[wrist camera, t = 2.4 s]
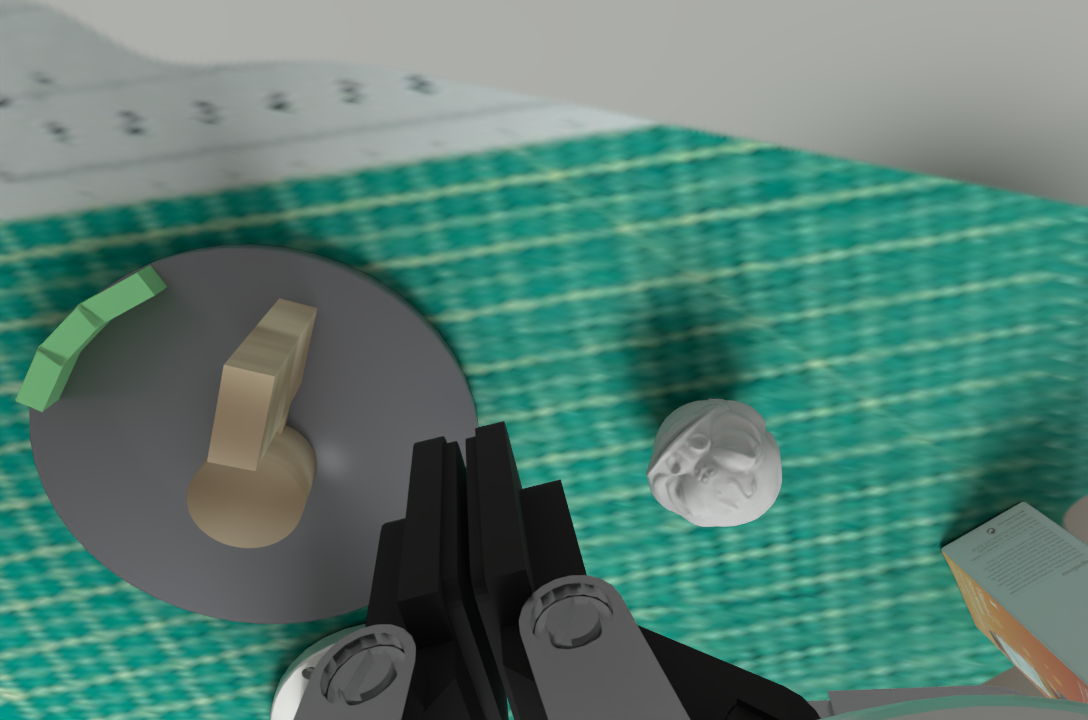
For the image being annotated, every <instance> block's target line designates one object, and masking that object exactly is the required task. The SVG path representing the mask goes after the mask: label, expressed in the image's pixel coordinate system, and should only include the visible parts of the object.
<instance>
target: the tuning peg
mask: <svg viewBox="0 0 1088 720" xmlns="http://www.w3.org/2000/svg"><path fill="white" fill-rule="evenodd" d="M316 313H317V308H316V307H312V306H308V305H304V304H300V303H296V302H292V301H289V300H285V299H281V298H279V299H278V301H277V302H276V303H275V304H274V305H273V307H272V308H271V309H270V310H269V311H268V313H267V314H266V315H265V316H264V317H263V318H262V320H261V321H260V322H259V323H258V324H257V326H256V327H255V328H254V329H253V330H252V332H251V333H250V334H249V335H248V336H247V338H246V339H245V340H244V341H243V342H242V344H241V345H240V346H239V347H238V348H237V350H236V351H235V352H234V353H233V354H232V356H231V357H230V358H229V359H228V360H227V361H226V363H225V364H224V366H223V372H222V378H221V384H220V390H219V395H218V401H217V407H216V413H215V419H214V424H213V430H212V436H211V442H210V448H209V453H208V456H207V458H206V459H205V461H204V462H203V464H202V465H201V467H200V468H199V470H198V471H197V473H196V474H195V476H194V477H193V479H192V480H191V482H190V485H189V487H188V491H187V506H188V510H189V513H190V515H191V517H192V519H193V520H194V522H195V523H196V524H197V526H198V527H199V528H200V529H201V530H202V531H203V532H204V533H206V534H207V535H208V536H210V537H211V538H213V539H215V540H217V541H219V542H221V543H223V544H226V545H229V546H234V547H240V548H259V547H264V546H268V545H271V544H274V543H276V542H279V541H280V540H282V539H284V538H285V537H286V536H288V535H289V534H290V533H291V532H292V531H293V530H294V529H295V527H296V526H297V525H298V523H299V521H300V519H301V516H302V513H303V510H304V507H305V504H306V502H307V499H308V496H309V493H310V490H311V488H312V485H313V482H314V479H315V476H316V471H317V461H316V456H315V453H314V451H313V449H312V447H311V445H310V444H309V442H308V441H307V440H306V439H305V438H304V437H303V436H302V435H301V434H300V433H299V432H297V431H296V430H294V429H293V428H291V427H289V426H287V425H286V422H287V418H288V413H289V408H290V404H291V402H292V400H293V398H294V396H295V395H296V393H297V391H298V389H299V387H300V385H301V382H302V377H303V373H304V368H305V364H306V359H307V354H308V350H309V345H310V341H311V336H312V331H313V327H314V322H315V318H316Z"/></svg>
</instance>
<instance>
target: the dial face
mask: <svg viewBox="0 0 1088 720" xmlns="http://www.w3.org/2000/svg"><path fill="white" fill-rule="evenodd" d="M279 298H281V299H285V300H289V301H292V302H296V303H300V304H304V305H308V306H312V307H316V308H317V313H316V318H315V322H314V327H313V331H312V336H311V341H310V345H309V350H308V354H307V359H306V364H305V368H304V373H303V377H302V382H301V385H300V387H299V389H298V391H297V393H296V395H295V396H294V398H293V400H292V402H291V404H290V408H289V413H288V418H287V422H286V425H287V426H289V427H291V428H293V429H294V430H296V431H297V432H299V433H300V434H301V435H302V436H303V437H304V438H305V439H306V440H307V441H308V442H309V444H310V445H311V447H312V449H313V451H314V453H315V456H316V461H317V471H316V476H315V479H314V482H313V485H312V488H311V490H310V493H309V496H308V499H307V502H306V504H305V507H304V510H303V513H302V516H301V519H300V521H299V523H298V525H297V526H296V527H295V529H294V530H293V531H292V532H291V533H290V534H289V535H288V536H286V537H285V538H284V539H282V540H280V541H279V542H276V543H274V544H271V545H268V546H264V547H259V548H240V547H234V546H229V545H226V544H223V543H221V542H219V541H217V540H215V539H213V538H211V537H210V536H208V535H207V534H206V533H204V532H203V531H202V530H201V529H200V528H199V527H198V526H197V524H196V523H195V522H194V520H193V519H192V517H191V515H190V513H189V510H188V506H187V491H188V487H189V485H190V482H191V480H192V479H193V477H194V476H195V474H196V473H197V471H198V470H199V468H200V467H201V465H202V464H203V462H204V461H205V459H206V458H207V456H208V453H209V448H210V442H211V436H212V430H213V424H214V419H215V413H216V407H217V401H218V395H219V390H220V384H221V378H222V372H223V366H224V364H225V363H226V361H227V360H228V359H229V358H230V357H231V356H232V354H233V353H234V352H235V351H236V350H237V348H238V347H239V346H240V345H241V344H242V342H243V341H244V340H245V339H246V338H247V336H248V335H249V334H250V333H251V332H252V330H253V329H254V328H255V327H256V326H257V324H258V323H259V322H260V321H261V320H262V318H263V317H264V316H265V315H266V314H267V313H268V311H269V310H270V309H271V308H272V307H273V305H274V304H275V303H276V302H277V301H278V299H279ZM15 401H16V402H19V403H21V404H24V405H26V406H29V407H30V440H31V446H32V451H33V456H34V462H35V465H36V468H37V471H38V474H39V477H40V480H41V482H42V485H43V488H44V490H45V492H46V494H47V496H48V498H49V499H50V501H51V503H52V505H53V507H54V509H55V511H56V512H57V514H58V515H59V517H60V518H61V519H62V521H63V522H64V524H65V525H66V526H67V528H68V529H69V531H70V532H71V533H72V534H73V535H74V537H75V538H76V539H77V540H78V541H79V542H80V543H81V544H82V545H83V546H84V547H85V548H86V550H87V551H88V552H89V553H90V554H92V555H93V556H94V557H95V558H96V559H97V560H99V561H100V562H101V563H102V564H103V565H104V566H106V567H107V568H108V569H109V570H110V571H112V572H113V573H115V574H116V575H118V576H119V577H121V578H122V579H124V580H125V581H127V582H128V583H130V584H131V585H133V586H134V587H136V588H138V589H140V590H142V591H144V592H146V593H148V594H150V595H151V596H153V597H155V598H157V599H160V600H162V601H165V602H167V603H170V604H172V605H174V606H177V607H179V608H182V609H185V610H189V611H192V612H195V613H199V614H202V615H206V616H210V617H215V618H220V619H225V620H230V621H237V622H248V623H258V624H288V623H298V622H308V621H315V620H320V619H325V618H330V617H335V616H339V615H342V614H345V613H348V612H351V611H355V610H358V609H361V608H363V607H365V606H368V605H369V600H370V594H371V588H372V581H373V575H374V569H375V563H376V557H377V550H378V544H379V538H380V532H381V528H382V525H383V524H384V523H387V522H391V521H395V520H399V519H403V518H405V517H406V508H407V499H408V490H409V480H410V471H411V462H412V453H413V445H414V443H417V442H421V441H425V440H429V439H433V438H437V437H441V436H444V437H445V438H446V441H447V443H450V442H454V441H457V442H458V444H459V447H460V450H461V453H462V457H463V460H464V463H465V467H466V443H465V439H466V438H470V437H474V436H475V428H478V419H477V414H476V410H475V405H474V400H473V396H472V393H471V390H470V388H469V385H468V382H467V379H466V376H465V374H464V372H463V370H462V368H461V366H460V365H459V363H458V361H457V359H456V357H455V355H454V353H453V352H452V350H451V349H450V347H449V346H448V345H447V343H446V342H445V340H444V339H443V338H442V336H441V335H440V333H439V332H438V331H437V330H436V329H435V327H434V326H433V325H432V324H431V323H430V322H429V321H428V320H427V319H426V318H425V317H424V316H423V315H422V314H421V313H420V311H419V310H417V309H416V308H415V307H414V306H412V305H411V304H410V303H409V302H408V301H406V300H405V299H404V298H403V297H402V296H400V295H399V294H398V293H397V292H395V291H394V290H392V289H390V288H389V287H387V286H386V285H384V284H383V283H381V282H380V281H378V280H376V279H375V278H373V277H372V276H370V275H367V274H365V273H363V272H361V271H359V270H357V269H355V268H353V267H351V266H349V265H347V264H345V263H342V262H339V261H336V260H333V259H330V258H327V257H324V256H321V255H318V254H315V253H311V252H306V251H302V250H297V249H292V248H287V247H281V246H270V245H259V244H234V245H217V246H211V247H205V248H199V249H192V250H188V251H184V252H181V253H178V254H175V255H171V256H168V257H165V258H161V259H159V260H157V261H154V262H152V263H150V264H148V265H146V266H144V267H141V268H139V269H137V270H135V271H133V272H131V273H129V274H127V275H126V276H124V277H122V278H120V279H119V280H117V281H116V282H114V283H113V284H111V285H109V286H108V287H106V288H105V289H103V290H102V291H100V292H99V293H97V294H95V295H94V296H92V297H90V298H88V299H87V300H85V301H83V302H81V303H80V304H79V305H78V306H76V308H75V309H74V310H73V311H72V313H71V314H70V315H69V316H68V317H67V318H66V319H65V320H64V321H63V322H62V323H61V324H60V325H59V326H58V327H57V328H56V330H55V331H54V332H53V333H52V334H51V335H50V336H49V337H48V338H47V339H46V340H45V341H44V342H43V343H42V344H41V345H39V347H38V349H37V352H36V354H35V357H34V359H33V361H32V363H31V366H30V368H29V370H28V373H27V375H26V377H25V379H24V382H23V384H22V386H21V389H20V391H19V393H18V396H17V398H16V400H15Z"/></svg>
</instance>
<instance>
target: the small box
mask: <svg viewBox="0 0 1088 720" xmlns="http://www.w3.org/2000/svg"><path fill="white" fill-rule="evenodd" d="M941 550H942V553H943V555H944V557H945V559H946V561H947V562H948V564H949V566H950V568H951V570H952V573H953V575H954V577H955V579H956V581H957V584H958V586H959V589H960V591H961V593H962V595H963V598H964V600H965V602H966V605H967V607H968V609H969V612H970V614H971V616H972V619H973V621H974V623H975V625H976V626H977V627H978V628H979V629H980V630H981V631H982V632H983V633H984V634H985V635H986V636H987V637H988V638H989V639H990V640H991V641H992V642H993V643H994V644H995V645H996V646H997V647H998V648H999V649H1000V650H1001V651H1002V652H1003V653H1004V654H1005V655H1006V657H1007V658H1008V659H1009V660H1010V661H1011V662H1012V663H1013V664H1014V665H1015V666H1016V667H1017V668H1018V669H1019V670H1020V671H1021V672H1022V673H1023V674H1024V675H1025V676H1026V677H1027V678H1028V679H1029V680H1030V681H1031V682H1032V683H1033V684H1034V685H1035V686H1036V687H1037V688H1038V689H1039V690H1040V691H1041V692H1042V693H1043V694H1044V695H1045V696H1046V697H1047V698H1053V699H1063V700H1072V701H1077V702H1082V703H1088V546H1087V545H1086V544H1084V543H1083V542H1082V541H1080V540H1079V539H1077V538H1076V537H1075V536H1073V535H1072V534H1070V533H1069V532H1068V531H1066V530H1065V529H1063V528H1062V527H1061V526H1059V525H1058V524H1056V523H1055V522H1053V521H1052V520H1050V519H1049V518H1048V517H1046V516H1045V515H1043V514H1042V513H1041V512H1039V511H1038V510H1036V509H1035V508H1033V507H1032V506H1031V505H1029V504H1028V503H1026V502H1021V503H1019V504H1017V505H1016V506H1014V507H1012V508H1010V509H1009V510H1007V511H1005V512H1004V513H1002V514H1000V515H998V516H996V517H995V518H993V519H991V520H990V521H988V522H986V523H984V524H983V525H981V526H979V527H977V528H976V529H974V530H972V531H970V532H969V533H967V534H965V535H963V536H962V537H960V538H958V539H956V540H955V541H953V542H951V543H949V544H948V545H946V546H944V547H943V548H942V549H941Z"/></svg>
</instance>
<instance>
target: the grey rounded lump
mask: <svg viewBox="0 0 1088 720" xmlns="http://www.w3.org/2000/svg"><path fill="white" fill-rule="evenodd" d="M765 429H766V424H765V421H764V419H763V417H762V416H761V415H760V414H759V413H758V412H757V411H756V410H755V409H754V408H752V407H751V406H749V405H746V404H744V403H742V402H738V401H732V400H727V401H726V400H724V399H711V398H709V399H708V400H700V401H694V402H691V403H687V404H685V405H683V406H681V407H679V408H677V409H676V410H674V411H673V412H672V413H671V414H670V415H669V416H668V417H667V418H666V419H665V420H664V422H663V423H662V424H661V426H660V428H659V430H658V432H657V435H656V438H655V442H654V450H653V455H652V456H651V461H650V463H649V466H648V469H647V472H646V475H647V477H648V480H649V486H650V489H651V491H652V493H653V495H654V497H655V498H656V500H657V501H658V502H659V503H660V504H661V505H663V506H664V507H665V508H666V509H668V510H670V511H673V512H675V513H677V514H679V515H682V516H683V517H684V518H685V519H687V520H688V521H689V522H691V523H693V524H695V525H699V526H705V527H709V526H712V527H713V526H721V527H723V526H736V525H740V524H744V523H747V522H749V521H753V520H755V519H757V518H759V517H760V516H761V515H762V514H764V513H765V512H766V511H767V509H769V508H770V506H772V505H773V503H774V501H775V500H776V498H777V495H778V493H779V491H780V487H781V483H782V468H781V459H780V453H779V449H778V446H777V443H776V440H775V438H774V437H773V435H772V434H771V433H770V432H768V431H766V430H765Z"/></svg>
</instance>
